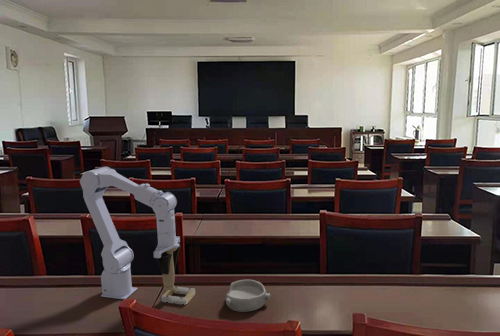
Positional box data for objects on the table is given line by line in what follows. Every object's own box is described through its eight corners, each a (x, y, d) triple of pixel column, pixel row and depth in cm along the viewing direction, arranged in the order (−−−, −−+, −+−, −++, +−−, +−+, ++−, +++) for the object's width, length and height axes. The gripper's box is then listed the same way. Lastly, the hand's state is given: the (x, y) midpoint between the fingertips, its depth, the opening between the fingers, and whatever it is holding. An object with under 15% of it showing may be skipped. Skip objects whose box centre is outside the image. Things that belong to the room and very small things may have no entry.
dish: (227, 316, 126) (226, 301, 125) (222, 294, 140) (222, 281, 139) (273, 311, 128) (272, 296, 128) (264, 290, 142) (264, 277, 141)
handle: (175, 292, 133) (174, 248, 130) (156, 291, 134) (155, 247, 131) (180, 286, 137) (179, 243, 135) (162, 285, 138) (160, 242, 136)
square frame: (162, 301, 135) (161, 295, 135) (172, 291, 143) (172, 285, 142) (186, 305, 133) (185, 298, 133) (195, 293, 140) (195, 288, 140)
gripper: (167, 239, 124) (169, 281, 127) (187, 224, 138) (189, 262, 140) (146, 237, 126) (149, 279, 129) (168, 223, 140) (170, 260, 142)
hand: (168, 270), depth 135 cm, fingers closed on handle, 4 cm apart
